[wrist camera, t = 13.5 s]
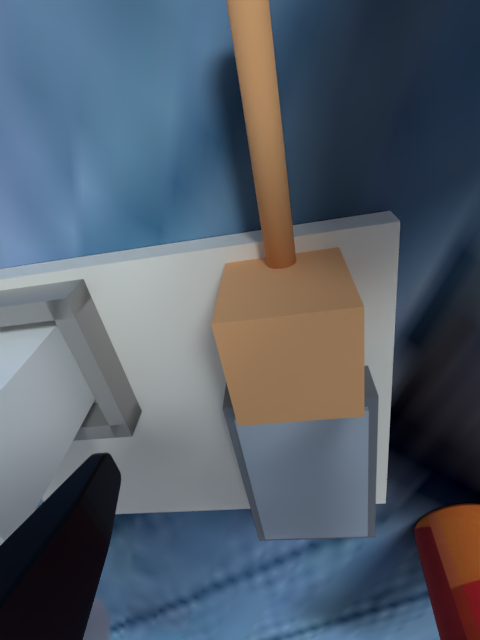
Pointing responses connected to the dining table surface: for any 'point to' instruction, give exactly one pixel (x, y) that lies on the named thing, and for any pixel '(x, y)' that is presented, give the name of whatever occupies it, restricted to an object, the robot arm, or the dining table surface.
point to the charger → (35, 415)
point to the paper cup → (452, 568)
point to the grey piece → (310, 473)
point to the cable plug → (283, 276)
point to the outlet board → (184, 353)
